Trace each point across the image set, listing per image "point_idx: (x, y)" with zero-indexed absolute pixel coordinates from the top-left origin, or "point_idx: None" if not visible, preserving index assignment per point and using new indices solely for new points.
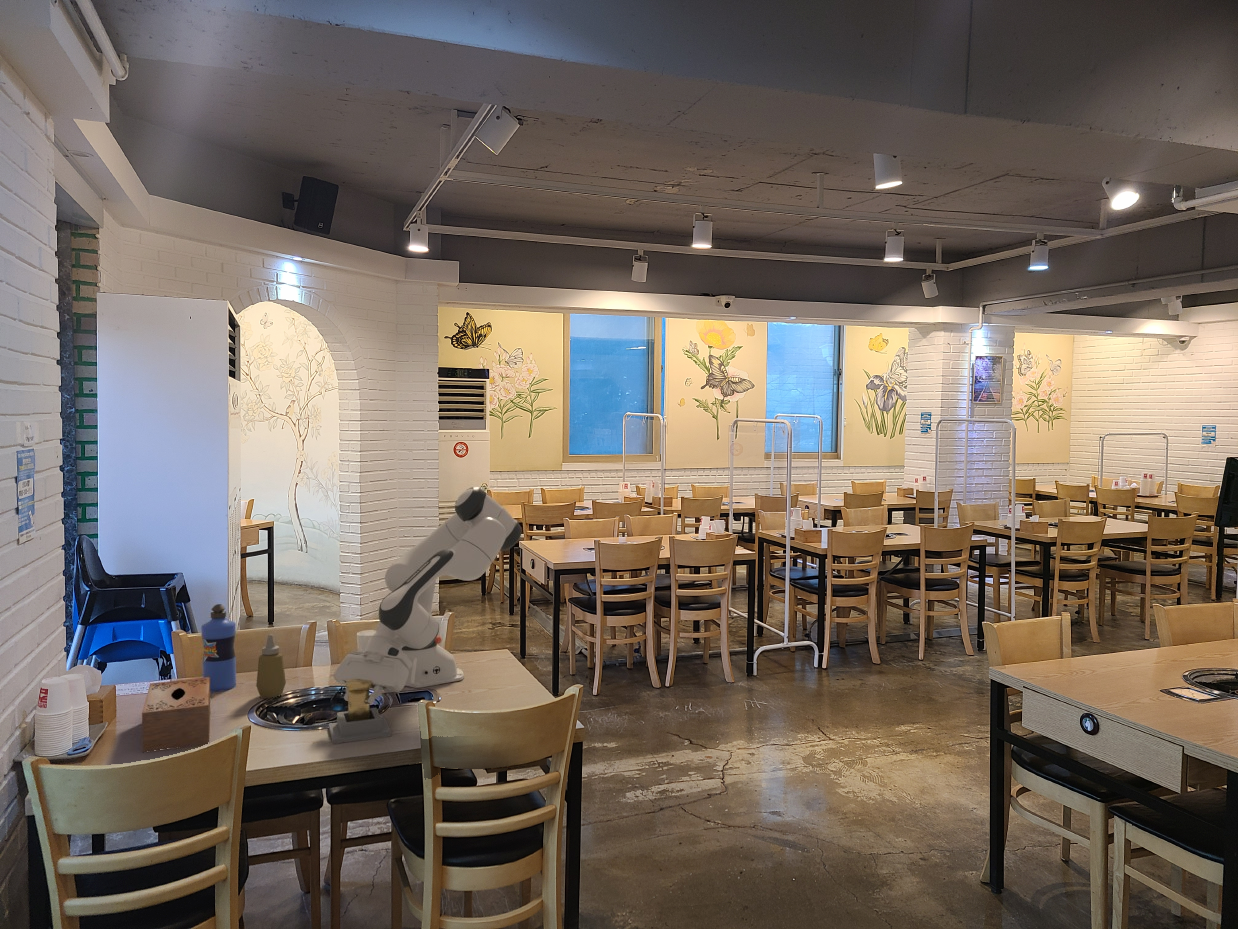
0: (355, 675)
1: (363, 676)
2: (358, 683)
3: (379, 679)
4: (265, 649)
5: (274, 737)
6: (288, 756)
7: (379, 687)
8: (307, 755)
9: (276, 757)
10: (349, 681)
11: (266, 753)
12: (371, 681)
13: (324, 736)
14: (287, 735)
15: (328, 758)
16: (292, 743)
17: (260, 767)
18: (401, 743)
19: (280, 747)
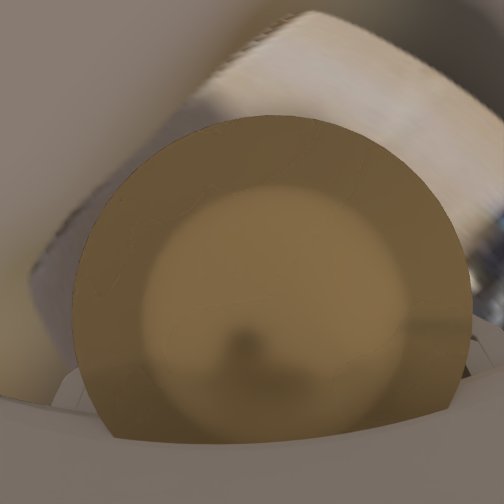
0: (489, 440)
1: (318, 493)
2: (195, 230)
3: (16, 446)
4: None
5: (489, 139)
6: (319, 60)
7: (56, 404)
8: (276, 83)
9: (340, 48)
10: (412, 233)
11: (388, 55)
12: (95, 408)
13: None
14: (481, 166)
15: (198, 100)
16: (407, 122)
17: (314, 13)
18: (64, 308)
19: (403, 90)
